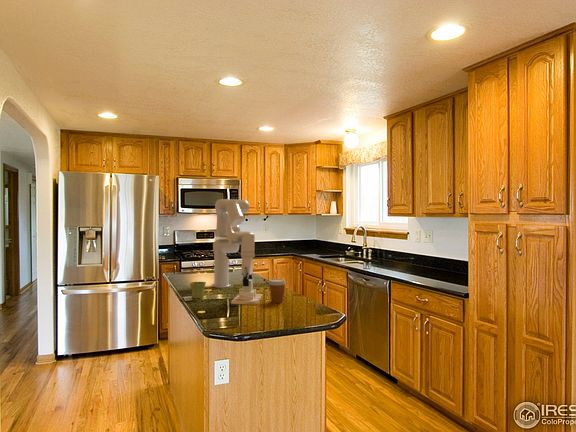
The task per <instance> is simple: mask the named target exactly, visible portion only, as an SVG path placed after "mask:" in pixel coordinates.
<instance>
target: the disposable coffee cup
mask: <svg viewBox="0 0 576 432" xmlns="http://www.w3.org/2000/svg"><path fill="white" fill-rule="evenodd" d="M286 283H287V282H286V280H285V279H282V278H273V279H269V282H268V284H269V291H270V292H269V293H270V299H271V300H270V301H271V303H274V304H275V303H276V304H280V303H283V301H284V294H285V293H284V292H285V288H286V287H285V286H286Z"/></svg>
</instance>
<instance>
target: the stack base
mask: <svg viewBox="0 0 576 432" xmlns="http://www.w3.org/2000/svg"><path fill="white" fill-rule="evenodd" d="M263 297H264V295H263V293H262V294H259V293H257V289H256V288H255V289H254V288H253V290H252V291H251V292H247V291H242V289H240V290H239V291H238V294H237V295H236V296H235V297H234V298H233V299H232V300H231V301H230V304H231V305H255V306H257V305H258V303H259V302H260V301H261V300H262V299H263Z"/></svg>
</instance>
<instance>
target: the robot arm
mask: <svg viewBox="0 0 576 432" xmlns="http://www.w3.org/2000/svg"><path fill="white" fill-rule="evenodd" d="M214 208H215V209H214V210H215V213H216V229H215V232H216V236H217V237H218V239H215V240H214V241H213V243H212V249H213V254H214V255H213V258H214V262H213V263H214V264H213V265H214V269H213V271H214V273H213V275H214V280H213V281H214V282H213V283H212V284H211V287H213V288H220V289H222V288H230V287H231V286H232V284H231V283H230V280H229V277H230V276H229V275H230V274H229V273H230V270H229V269H230V262H229V260H230V259H229V257H228V256H227V254H234V253H239V250H240V253H241V254H240V257H241V267H240V268H241V272H240V274H241V276H242V281H243V286H249V279H253V273H254V272H253V271H254V269H253V268H254V258H255V247H256V246H255V243H256V241H255V240H256V239H255V233H254V232H251V231H241V227H240V225H241V224H243V222H244V221H245V216H244V214H247V213H248V212H250V204H249V201H247V200H246V199H234V198H233V199H231V198H230V199H229V198H228V199H227V198H224V199H223V198H220V199H217V200H216V201H215V203H214Z"/></svg>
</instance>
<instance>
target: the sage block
mask: <svg viewBox="0 0 576 432" xmlns="http://www.w3.org/2000/svg"><path fill="white" fill-rule="evenodd" d="M253 284H254V279H253V278H252V279H249V286H243V280H242V283H241V287H242V289H241V290H242V291H247V292H251V291H252V290H253V289H254V286H253Z"/></svg>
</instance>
